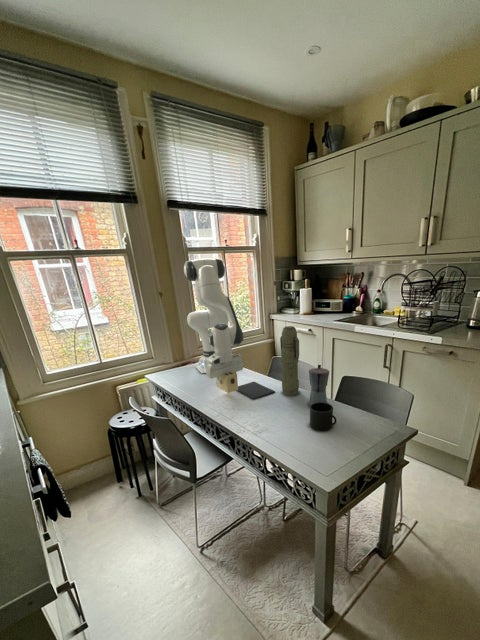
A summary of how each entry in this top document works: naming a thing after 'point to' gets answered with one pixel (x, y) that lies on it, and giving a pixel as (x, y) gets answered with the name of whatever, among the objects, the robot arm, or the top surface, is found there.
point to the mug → (321, 416)
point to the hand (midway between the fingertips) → (226, 381)
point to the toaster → (228, 382)
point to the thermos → (290, 360)
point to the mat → (254, 390)
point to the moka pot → (318, 384)
